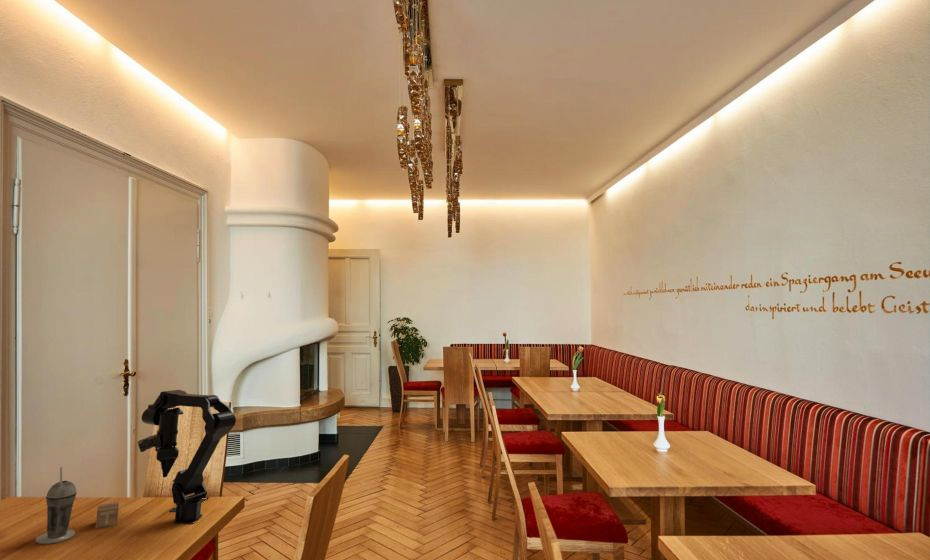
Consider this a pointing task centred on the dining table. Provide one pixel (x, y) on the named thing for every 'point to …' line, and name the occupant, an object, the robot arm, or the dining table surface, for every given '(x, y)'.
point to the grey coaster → (44, 540)
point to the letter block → (107, 515)
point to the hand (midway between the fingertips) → (164, 473)
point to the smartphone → (177, 505)
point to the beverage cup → (59, 507)
